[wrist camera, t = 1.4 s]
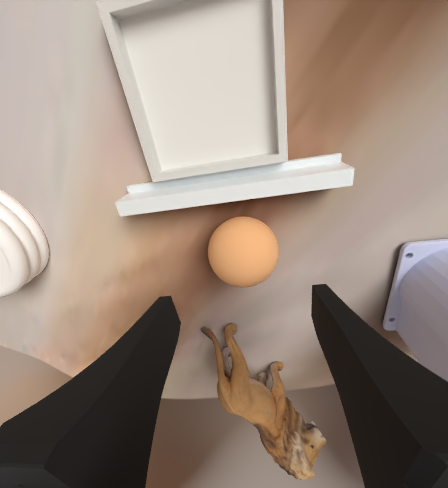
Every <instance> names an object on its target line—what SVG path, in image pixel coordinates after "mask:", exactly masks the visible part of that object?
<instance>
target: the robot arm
mask: <svg viewBox="0 0 448 488" xmlns="http://www.w3.org/2000/svg"><path fill="white" fill-rule="evenodd" d="M408 253H410V254H409V255H407V254H408ZM406 255H407V256H406ZM311 316H312V319H313V323H314V327H315V331H316V334H317V337H318V340H319V343H320V345H321V348H322V350H323V353H324V355H325V358H326V361H327V363H328V366H329V368H330V371H331V373H332V376H333V378H334V381H335V384H336V387H337V389H338V392H339V395H340V399H341V402H342V405H343V409H344V412H345V416H346V419H347V422H348V426H349V430H350V433H351V437H352V441H353V444H354V448H355V452H356V455H357V459H358V463H359V466H360V470H361V474H362V478H363V481H364V486H365V488H448V239H438V240H428V241H417V242H408V243H406V244H404V245H403V246H402V247H401V250H400V254H399V258H398V263H397V267H396V271H395V275H394V279H393V283H392V287H391V292H390V296H389V300H388V304H387V308H386V312H385V316H384V320H383V327H384V329H385V330H388V331H392V330H396V331H397V332H398V334H399V335H400V337H401V338H402V339H403V341H404V342H405V344H406V345H407V347H408V348H409V349H410V351H411V352H412V354H413V355H414V356H415V358H416V359H417V361H418V362H419V363H418V362H416V361H415V360H413V359H412V358H411V357H409V356H408V355H406V354H405V353H403V352H402V351H401V350H399V349H398V348H397V347H395V346H394V345H393V344H391V343H390V342H389V341H387V340H386V339H385V338H384V337H382V336H381V335H380V334H379V333H377V332H376V331H375V330H374V329H373V328H371V327H370V326H369V325H368V324H367V323H366V322H364V321H363V320H362V319H361V318H360V317H359V316H358V315H357V314H356V313H355V312H353V311H352V310H351V309H350V308H349V307H348V306H347V305H346V304H345V303H344V302H343V301H342V300H341V299H340V298H339V297H338V296H337V295H336V294H335V293H334V292H333V291H332V290H331V289H330V288H329V287H328V286H327V285H326V284H320V285H312V315H311ZM180 325H181V322H180V320H179V317H178V314H177V311H176V309H175V306H174V303H173V300H172V298H171V296H164V297H159V298H158V299H157V300H156V301H155V303H154V304H153V305H152V306H151V307H150V308H149V309H148V310H147V311H146V312H145V313H144V315H143V316H142V317H141V318H140V319H139V320H138V321H137V322H136V323H135V324H134V325H133V326H132V327H131V328H130V329H129V330H128V331H127V332H126V333H125V334H124V335H123V336H122V337H121V338H120V339H119V340H118V341H117V342H116V343H115V344H114V345H113V346H112V347H111V348H109V349H108V350H107V351H106V352H105V353H104V354H103V355H101V356H100V357H99V358H98V359H97V360H96V361H94V362H93V363H92V364H91V365H89V366H88V367H87V368H85V369H84V370H83V371H82V372H80V373H79V374H78V375H76V376H75V377H74V378H73V379H71V380H70V381H68V382H67V383H66V384H64V385H63V386H61V387H60V388H59V389H57V390H56V391H54V392H53V393H51V394H50V395H48V396H47V397H45V398H44V399H42V400H40V401H39V402H37V403H36V404H34V405H33V406H31V407H29V408H28V409H26V410H24V411H23V412H21V413H19V414H18V415H16V416H14V417H13V418H11V419H10V420H8V421H6V422H4V423H3V424H2V425H1V427H0V488H145V484H146V478H147V471H148V464H149V457H150V452H151V446H152V440H153V435H154V429H155V424H156V419H157V414H158V410H159V404H160V400H161V395H162V392H163V388H164V384H165V381H166V378H167V375H168V371H169V368H170V365H171V362H172V359H173V355H174V352H175V349H176V345H177V342H178V337H179V331H180Z"/></svg>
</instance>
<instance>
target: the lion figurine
mask: <svg viewBox="0 0 448 488" xmlns="http://www.w3.org/2000/svg"><path fill="white" fill-rule="evenodd" d="M201 331H202V332H203V333H204V334H205V335H207V336H208V337H209V338H210V339H211V340H212V341H213V344H214V347H215V352H216V359H217V371H218V378H219V380H218V383H217V392H218V397H219V399H220V402H221V403H222V405H223V407H224V408H225V410H226V411H227V412H229V413H231V414H234V415H238V416H240V417H242V418H244V419H246V420H247V421H249V422H250V423H251V424H253V425H254V426H255V427H256V428H257V429H258V431H259V433H260V438H261V441H262V443H263V445H264V447H265V449H266V450H267V452H268V453H269V454H270V455H271V456H272V457H273V459H274V461H275V462H276V463H278V464H279V466H280V467H281V468H282V469H284V470H285V471H286V472H287V473H288V474H289V475H293V476H294V477H295V478H296V479H300V480H307V479H309V478H311V477H314V475H315V473H314V471H313V462H314V461H315V460H316V459H317V458H318V452H319V450H320V449H321V448H322V446H323V445H324V444H325V443H326V439H325V438H324V437H323V436H322V434H321V432H320V431H319V430H318V429H317V427H316V425H315V423H314V422H313V421H310V422H308V423H306V424H305V423H304V419H303V417H302V415H301V414H299V413H298V412H296V411H295V409H294V407H293V404H292V402H291V401H290V400H289V399H288V398H287V397H285V392H284V387H283V384H282V381H281V379H280V376H279V373H278V371H281V370H282V369H283V364H282V363H281V362H274V363H272V364H271V366H270V370H271V375H272V380H273V386H272V389H271V391H270V390H269V389H268V388H267V387H266V381H267V379H268V378H269V377H268V374H267V373H265V372H260V373H259V374H258V381H257V380H255V379H252V378H250V377H249V371H248V368H247V364H246V361H245V358H244V356H243V354H242V352H241V350H240V349H239V347H238V345H237V343H236V341H235V339H234V337H233V335H234V334H236V332H237V326H236V325H235V324H229V325H227V326H226V327H225V330H224V332H225V340H226V344H227V346H228V347H225V348H223V350H222V352H221V350H220V346H219V343H218V340H217V339H216V337H215V336H214V334H213V332H212V331H211V330H210V329H209V328H206V327H202V328H201ZM230 356H231V358H232V369H231V371H230V367H229V364H228V357H230Z"/></svg>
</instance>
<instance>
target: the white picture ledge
mask: <svg viewBox="0 0 448 488" xmlns="http://www.w3.org/2000/svg"><path fill="white" fill-rule="evenodd" d="M341 155H342V153H333V154H327V155H321V156H314V157H308V158H301V159H295V160H288V161H287V162H281V163H274V164H268V165H261V166H255V167H248V168H242V169H236V170H229V171H223V172H216V173H210V174H203V175H197V176H190V177H184V178H177V179H171V180H165V181H158V182H147V183H140V184H134V185H128V186H127V187H126V188H127V190H128V194H127V195H125V196H124V197H123V198H121V199H120V200H118V201H117V202H115V205H116V207H117V209H118V212H119V214H120V217H121V216H128V215H136V214H143V213H151V212H158V211H165V210H173V209H180V208H188V207H195V206H203V205H210V204H218V203H225V202H233V201H240V200H248V199H255V198H263V197H270V196H278V195H285V194H292V193H300V192H307V191H315V190H322V189H330V188H337V187H345V186H352V185H353V178H354V168H353V167H351V166H349V165H347V164H345V163H343V162H341Z"/></svg>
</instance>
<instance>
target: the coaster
mask: <svg viewBox="0 0 448 488" xmlns="http://www.w3.org/2000/svg"><path fill="white" fill-rule="evenodd" d="M48 259H49V247H48V242H47V239H46V237H45V234H44V232H43V230H42V228H41V227H40V225H39V224H38V222H37V221H36V219H35V218H34V217H33V216H32V215H31V213H30V212H29V211H28V210H27V209H26V208H25V207H24V206H23V205H22V204H20V203H19V202H18V201H17V200H15V199H14V198H13V197H11V196H10V195H8V194H7V193H5V192H4V191H2V190H0V297H3V296H7V295H10V294H12V293H14V292H16V291H18V290H19V289H20V288H21V287H22V286H23V285H24V284H27V283H28V282H30V281H31V280H32V279H33V278H34V277H35V276H37V275H39V274H40V273H41V272H42V271H43V270H44V268H45V267H46V265H47V263H48Z"/></svg>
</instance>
